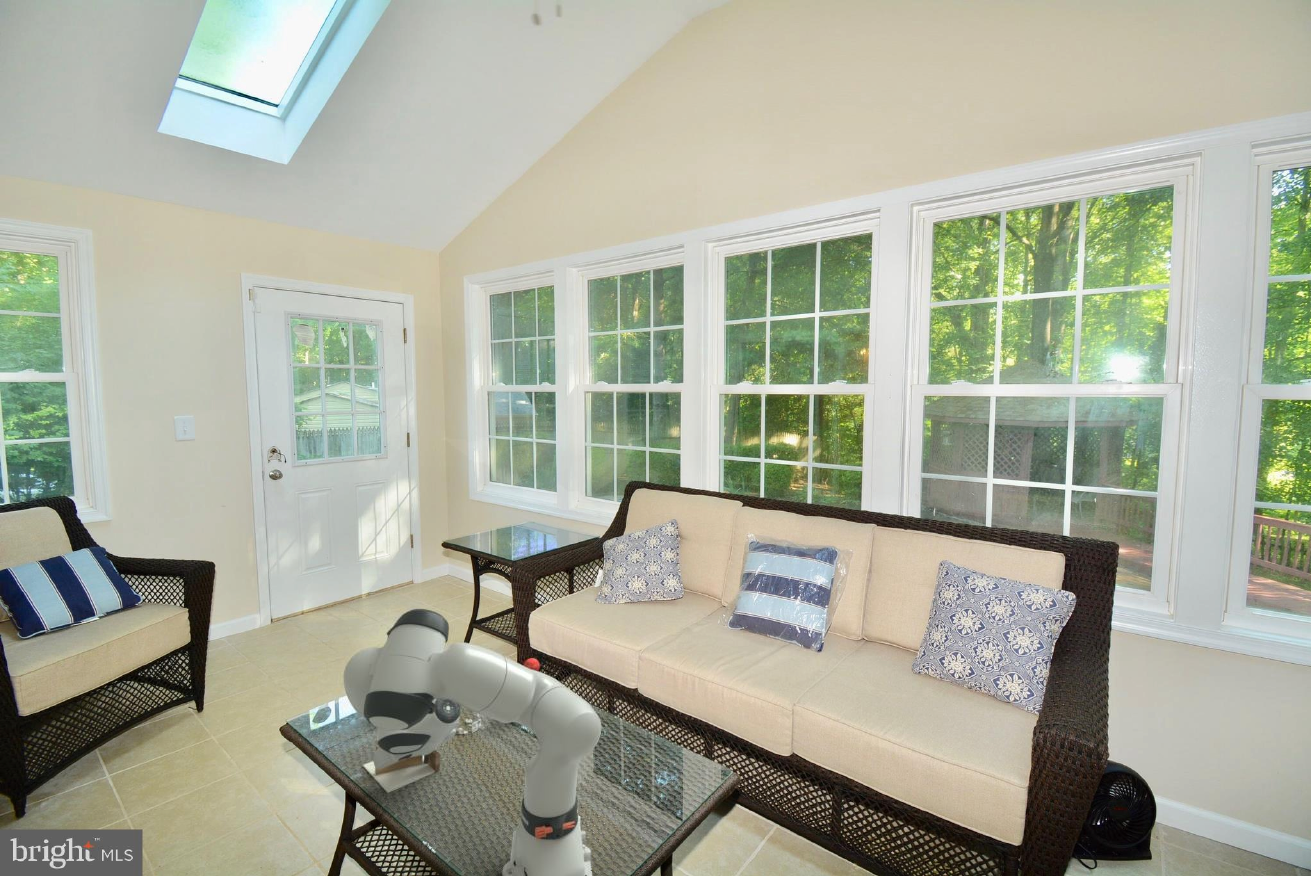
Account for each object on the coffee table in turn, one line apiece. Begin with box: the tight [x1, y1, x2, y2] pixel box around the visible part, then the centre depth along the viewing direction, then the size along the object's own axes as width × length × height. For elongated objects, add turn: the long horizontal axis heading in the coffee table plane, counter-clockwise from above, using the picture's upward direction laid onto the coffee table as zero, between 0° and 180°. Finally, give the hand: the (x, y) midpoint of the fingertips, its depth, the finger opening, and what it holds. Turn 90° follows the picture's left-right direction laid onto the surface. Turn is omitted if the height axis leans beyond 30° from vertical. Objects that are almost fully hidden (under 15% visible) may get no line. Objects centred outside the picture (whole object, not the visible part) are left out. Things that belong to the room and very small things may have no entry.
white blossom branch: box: [435, 713, 484, 751], centre depth 174 cm, size 7×25×2 cm, turn 145°
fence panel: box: [375, 742, 423, 775], centre depth 156 cm, size 2×12×8 cm, turn 122°
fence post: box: [424, 750, 441, 774], centre depth 159 cm, size 6×2×4 cm, turn 48°
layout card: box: [362, 755, 435, 794], centre depth 157 cm, size 15×14×1 cm
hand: (406, 755), depth 156 cm, fingers closed
